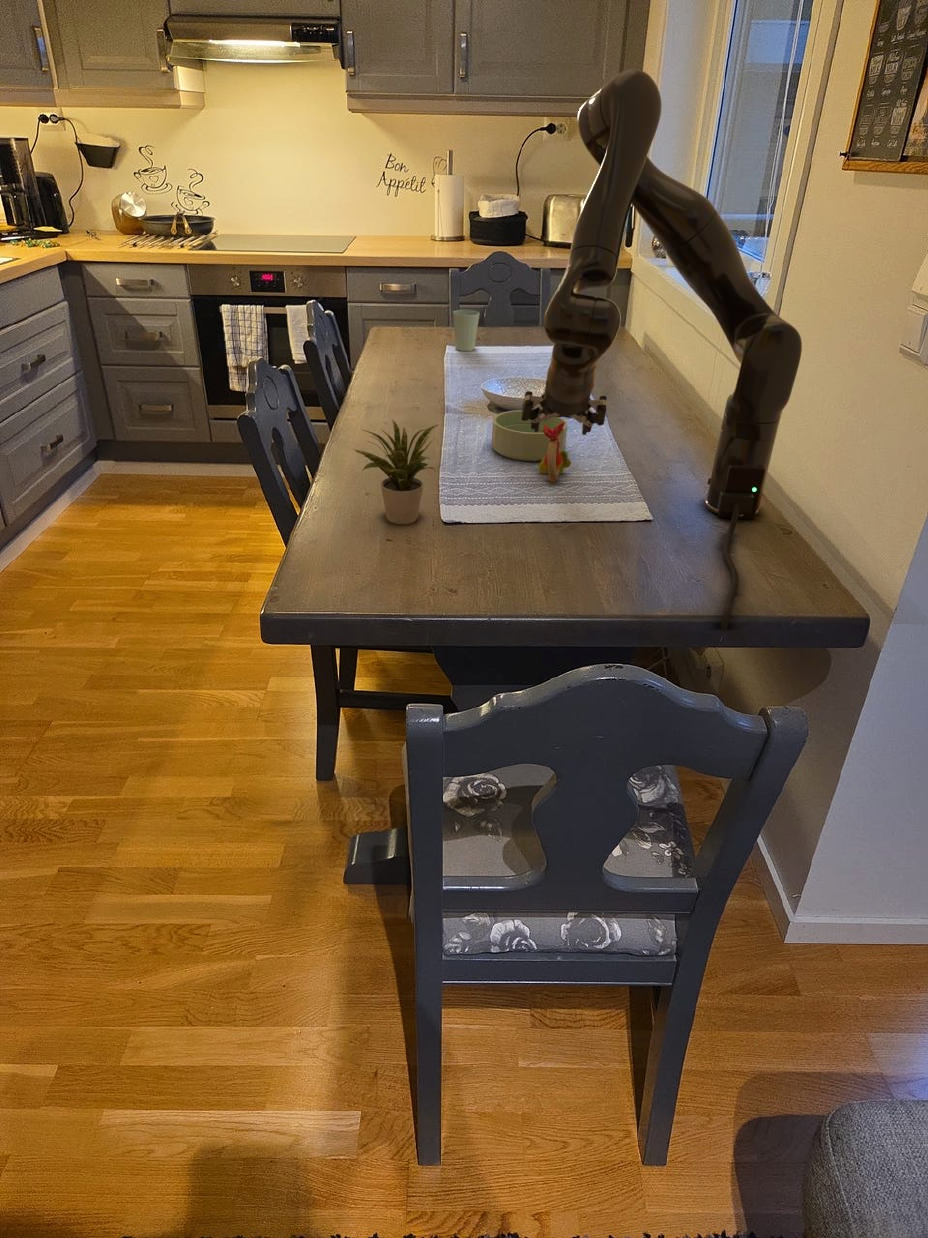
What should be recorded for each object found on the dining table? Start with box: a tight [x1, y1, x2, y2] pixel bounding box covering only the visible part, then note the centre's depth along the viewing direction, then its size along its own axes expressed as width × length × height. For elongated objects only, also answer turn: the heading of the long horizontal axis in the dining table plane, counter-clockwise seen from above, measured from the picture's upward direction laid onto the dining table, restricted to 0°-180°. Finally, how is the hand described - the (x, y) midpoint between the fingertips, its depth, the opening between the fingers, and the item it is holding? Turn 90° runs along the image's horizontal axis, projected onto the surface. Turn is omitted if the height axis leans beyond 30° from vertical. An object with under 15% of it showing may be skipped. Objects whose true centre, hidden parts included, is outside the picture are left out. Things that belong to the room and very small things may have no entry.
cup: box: [452, 309, 480, 352], centre depth 245 cm, size 8×8×10 cm
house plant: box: [354, 419, 440, 525], centre depth 139 cm, size 14×14×16 cm
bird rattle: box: [538, 422, 572, 483], centre depth 158 cm, size 6×11×9 cm
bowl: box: [490, 409, 568, 462], centre depth 172 cm, size 15×15×6 cm
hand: (560, 428), depth 150 cm, fingers open, 8 cm apart
